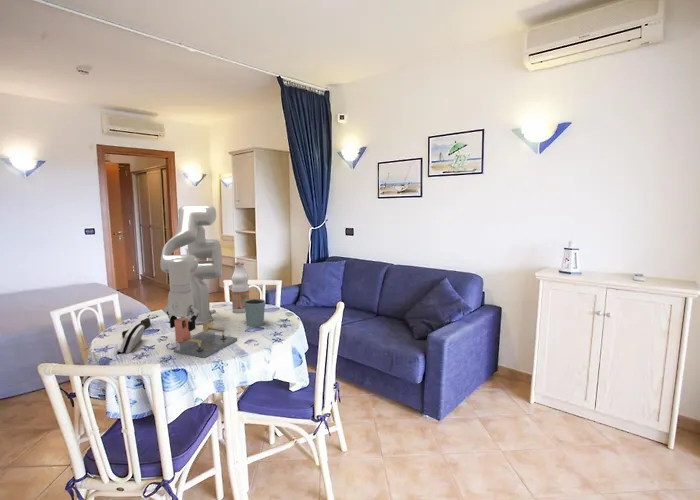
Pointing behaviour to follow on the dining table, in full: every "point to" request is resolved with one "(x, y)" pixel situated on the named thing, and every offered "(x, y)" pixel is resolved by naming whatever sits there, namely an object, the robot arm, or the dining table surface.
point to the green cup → (254, 312)
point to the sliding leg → (184, 331)
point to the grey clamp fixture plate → (205, 342)
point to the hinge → (131, 338)
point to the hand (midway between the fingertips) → (182, 328)
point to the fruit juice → (239, 288)
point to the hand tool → (144, 322)
